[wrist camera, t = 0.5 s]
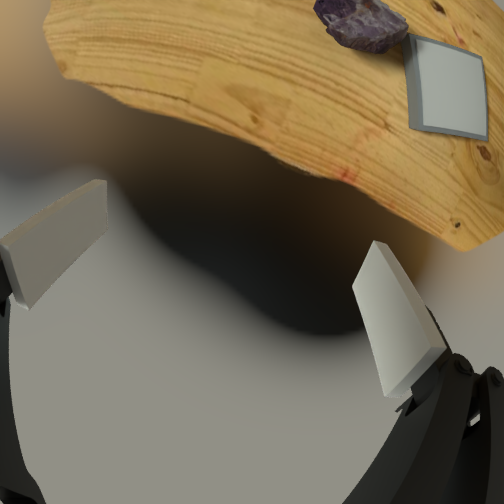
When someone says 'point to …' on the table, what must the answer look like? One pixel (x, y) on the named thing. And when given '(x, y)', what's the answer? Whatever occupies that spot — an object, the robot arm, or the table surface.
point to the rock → (362, 24)
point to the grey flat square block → (445, 88)
